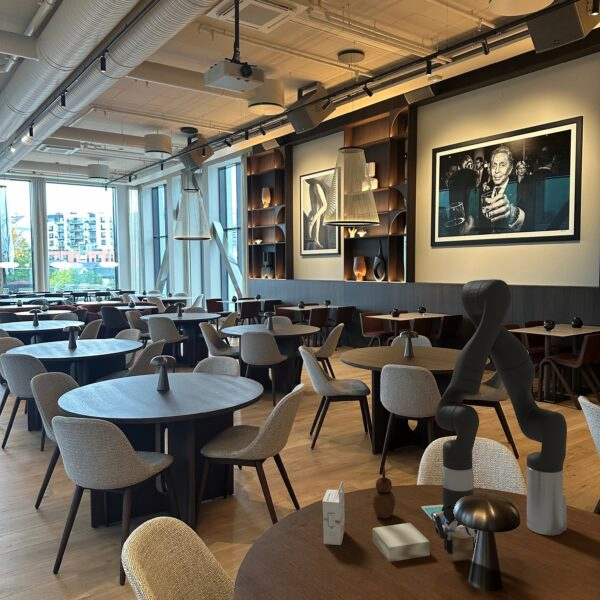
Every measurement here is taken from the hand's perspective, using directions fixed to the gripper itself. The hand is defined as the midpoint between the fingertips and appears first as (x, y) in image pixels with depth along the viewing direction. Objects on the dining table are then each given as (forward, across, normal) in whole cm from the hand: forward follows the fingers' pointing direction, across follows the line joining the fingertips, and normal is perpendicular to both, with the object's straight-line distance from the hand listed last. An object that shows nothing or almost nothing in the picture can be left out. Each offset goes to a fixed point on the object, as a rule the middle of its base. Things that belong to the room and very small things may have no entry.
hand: (459, 551), depth 135 cm
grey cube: (+3, -7, -10) cm, 12 cm away
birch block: (+3, +11, -10) cm, 15 cm away
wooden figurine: (+3, +8, -29) cm, 30 cm away
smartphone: (+3, -8, -24) cm, 25 cm away
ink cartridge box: (+3, +26, -20) cm, 33 cm away
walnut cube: (+1, 0, 0) cm, 1 cm away
